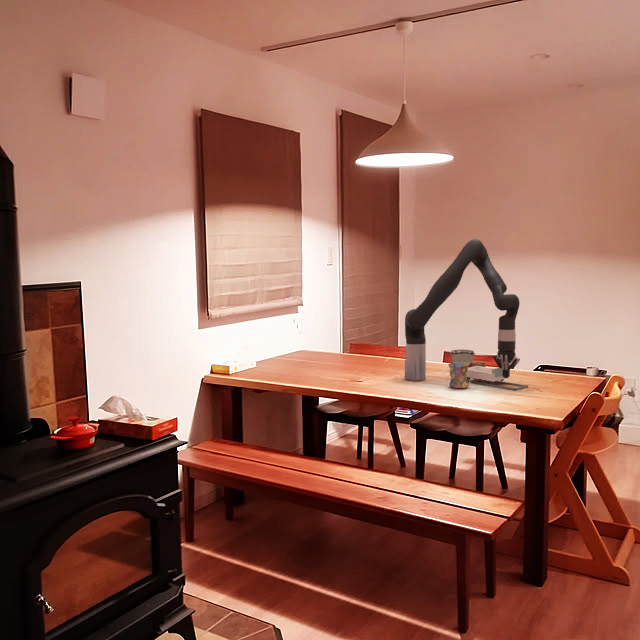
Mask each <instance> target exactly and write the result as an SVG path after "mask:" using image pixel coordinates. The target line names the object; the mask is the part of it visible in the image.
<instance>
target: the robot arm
mask: <svg viewBox="0 0 640 640" xmlns="http://www.w3.org/2000/svg"><path fill="white" fill-rule="evenodd" d="M471 263H472V264H473V265H474V266H475V267H476V268H477V269H478V270H479V272H480V274H481V276H482V278H483V280H484V282H485V284H486V286H487V287H488V290H490V292H491V294H492V295H491V296H492V298H493V303H494V307H496V308H497V310H498V311H503V312H504V311H505V314H503V315H500V316H499V318H498V332H497V349H498V351H497V352H496V353H497V354H495V355H493V356H492V358H493V360H494V362H495V363H496V364H497V365H496V366H498V367H497V368H502V370H503V371H502V375H503V378H506V379H509V378H510V377H511V370H512V369H514V368H515V367H516V366H517V365H518V363H520V362H521V358H519V357H517V354H516V341H517V340H516V339H517V338H516V336H517V335H516V318H517V316H518V313H519V312H518V311H519V309H520V305H521V304H520V299H519V296H517V295H516V294H515V293H508V294H505V293H506V292H507V290H508V288H507V286H508V285H507V284H506V283H505V281H504V279H503V278H502V276H501V275H500V273H499V272H498V271H497V269H496V268H495V267H494V265H493V263H492V261H491V258H490V256H489V252H488V249H487V248H486V246H485V244H483V242H482V241H481V240H480V239H477V238H476V239H471V240H469V241H467V243H465V244H464V246H463V248H462V249H461V250H460V252H459V253H458V255H457V256H456V258H454V260H453V261H452V262H451V264H450V265H449V266H448V268H446V269H445V271H444V272H443V273H442V274H441V275H440V276H439V277H438V279H437V280H436V281H435V282H434V283H433V285H432V287H430V290H429V291H428V293H427V295H426V297H425V299H424V300H423V301H422V302H421V303H420V304H419V305H418V306H417V307H416V308H413V309H410V310H409V311H407V312H406V314H405V318H404V333H405V334H404V337H405V359H404V380H409V381H412V382H413V381H414V382H415V381H424V380H426V378H427V376H426V375H427V373H426V372H427V370H426V369H427V368H426V363H427V362H426V361H427V360H426V358H427V356H426V352H427V350H426V349H427V348H426V345H427V342H426V339H427V338H426V334H425V333H426V332H425V327H426V326H427V323H429V321H430V319H431V317H432V316H433V315H434V314H435V312H436V311H437V310H438V309H439V308H440V307H441V306H442V304H443V303H445V301H446V300H447V299H448V298H450V296H452V294H453V293H454V292H455V291H456V289H457V288H458V286H459V285H460V282H461V280H462V279H463V276H464V272H465V270H466V269H467V267H468V266H469V265H470V264H471Z"/></svg>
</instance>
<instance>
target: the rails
mask: <svg viewBox="0 0 640 640" xmlns="http://www.w3.org/2000/svg"><path fill="white" fill-rule="evenodd" d="M469 382H470V384H475V383H476V385H482V386H486V385H487V386H488V387H493V388H498V389H505V390H509V391H518V390H523V389H526V388H529V385H527V384H521V383H515V382H509V381H500V380H498V381H494V382H493V383H497V382H498V383H497V384H502V385H496V384H493V383H492V384H489V383H488V381H487V380H486V381H485V382H487V383H485V382H481V381H476V380H475V381H474V380H467V383H469ZM503 384H504V385H510V386H514V387H509V386H504V385H503ZM516 386H517V387H516Z"/></svg>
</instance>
